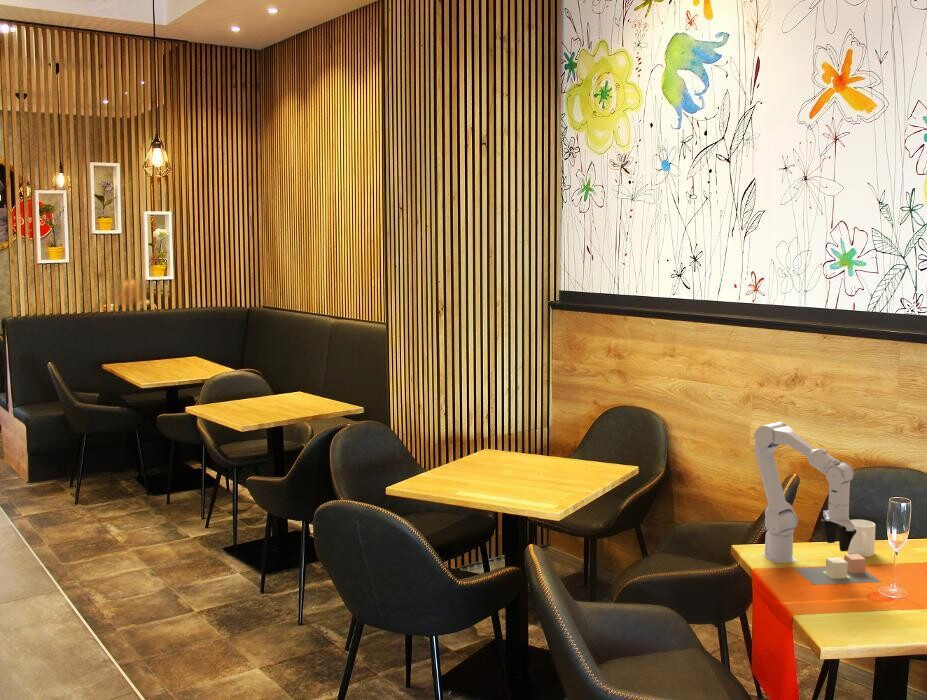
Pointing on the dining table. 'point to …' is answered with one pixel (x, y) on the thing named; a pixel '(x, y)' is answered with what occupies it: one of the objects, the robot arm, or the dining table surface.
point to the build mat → (821, 577)
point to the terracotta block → (855, 563)
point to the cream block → (836, 567)
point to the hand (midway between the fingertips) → (837, 546)
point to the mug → (863, 538)
